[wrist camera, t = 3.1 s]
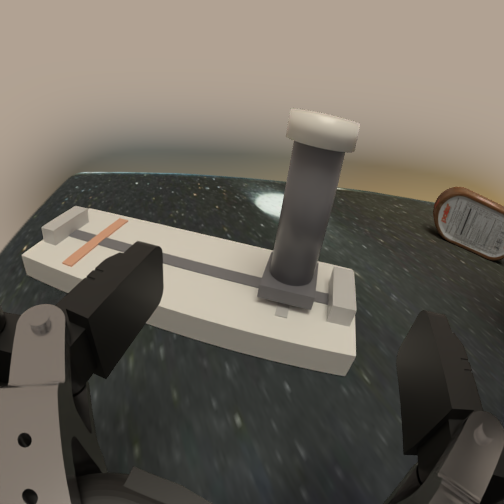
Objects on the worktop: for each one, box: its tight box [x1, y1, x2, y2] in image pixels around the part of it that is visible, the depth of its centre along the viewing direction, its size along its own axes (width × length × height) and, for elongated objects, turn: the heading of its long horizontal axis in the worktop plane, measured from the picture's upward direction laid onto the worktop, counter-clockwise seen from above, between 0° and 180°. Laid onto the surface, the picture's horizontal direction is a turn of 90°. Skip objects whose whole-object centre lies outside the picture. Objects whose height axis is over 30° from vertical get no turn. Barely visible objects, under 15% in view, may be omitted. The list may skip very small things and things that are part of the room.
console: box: [22, 206, 357, 376], centre depth 24 cm, size 26×10×3 cm, turn 77°
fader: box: [257, 108, 360, 310], centre depth 19 cm, size 4×4×12 cm
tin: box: [433, 187, 504, 261], centre depth 38 cm, size 15×3×8 cm, turn 60°
